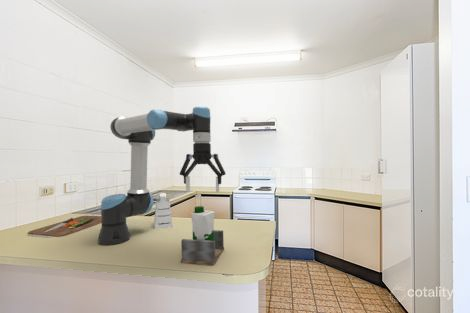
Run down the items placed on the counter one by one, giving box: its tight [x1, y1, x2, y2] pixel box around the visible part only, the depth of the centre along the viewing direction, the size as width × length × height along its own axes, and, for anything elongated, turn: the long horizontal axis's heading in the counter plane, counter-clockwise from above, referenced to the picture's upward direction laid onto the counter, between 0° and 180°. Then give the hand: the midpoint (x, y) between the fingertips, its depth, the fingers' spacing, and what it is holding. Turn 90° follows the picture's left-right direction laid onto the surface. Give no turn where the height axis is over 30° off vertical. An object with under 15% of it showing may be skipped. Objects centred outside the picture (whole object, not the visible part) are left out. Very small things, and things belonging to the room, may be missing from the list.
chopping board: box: [26, 215, 102, 239], centre depth 157 cm, size 45×27×3 cm, turn 166°
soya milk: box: [190, 205, 216, 241], centre depth 106 cm, size 9×9×20 cm
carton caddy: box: [180, 229, 225, 267], centre depth 107 cm, size 14×17×9 cm
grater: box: [153, 192, 174, 230], centre depth 153 cm, size 10×10×20 cm
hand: (202, 191), depth 106 cm, fingers open, 13 cm apart
